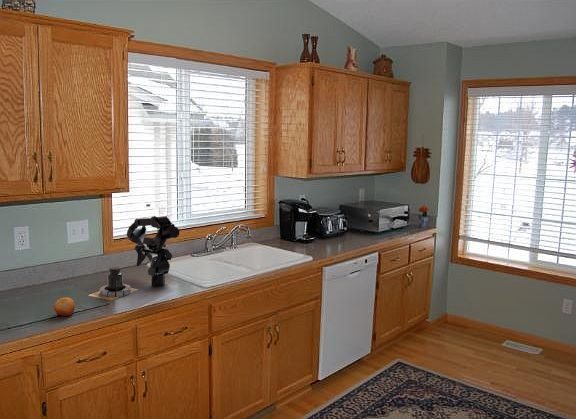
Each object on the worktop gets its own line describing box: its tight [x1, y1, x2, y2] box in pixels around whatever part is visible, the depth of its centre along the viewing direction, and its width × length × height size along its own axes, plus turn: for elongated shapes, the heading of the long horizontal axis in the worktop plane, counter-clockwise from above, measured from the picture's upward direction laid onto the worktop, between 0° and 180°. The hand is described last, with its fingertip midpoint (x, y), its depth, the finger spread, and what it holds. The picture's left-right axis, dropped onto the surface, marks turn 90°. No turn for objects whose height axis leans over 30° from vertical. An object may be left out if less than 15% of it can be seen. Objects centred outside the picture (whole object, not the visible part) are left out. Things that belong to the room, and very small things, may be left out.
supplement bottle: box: [106, 266, 124, 291], centre depth 238 cm, size 7×7×12 cm
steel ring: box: [99, 283, 132, 298], centre depth 238 cm, size 14×14×2 cm
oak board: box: [87, 287, 139, 301], centre depth 239 cm, size 18×14×1 cm
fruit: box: [52, 296, 76, 317], centre depth 211 cm, size 8×8×8 cm
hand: (145, 267), depth 236 cm, fingers open, 9 cm apart
